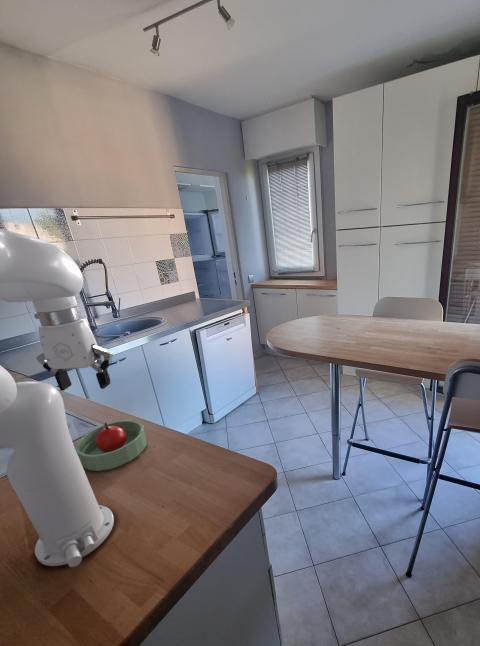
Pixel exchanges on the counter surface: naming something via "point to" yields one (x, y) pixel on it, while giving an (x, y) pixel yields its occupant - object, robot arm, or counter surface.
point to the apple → (110, 438)
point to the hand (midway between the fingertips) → (86, 387)
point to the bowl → (104, 461)
